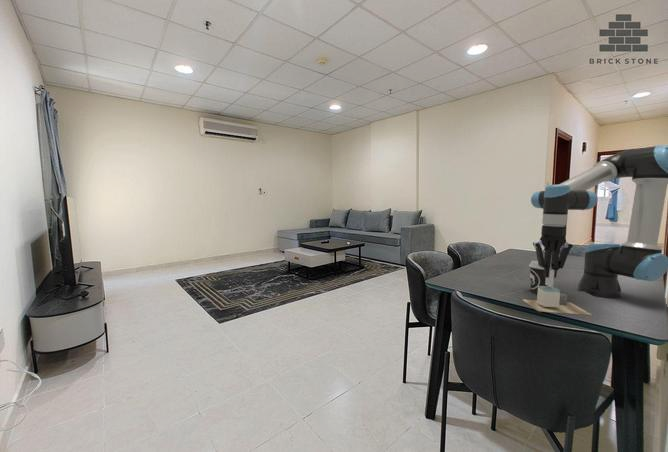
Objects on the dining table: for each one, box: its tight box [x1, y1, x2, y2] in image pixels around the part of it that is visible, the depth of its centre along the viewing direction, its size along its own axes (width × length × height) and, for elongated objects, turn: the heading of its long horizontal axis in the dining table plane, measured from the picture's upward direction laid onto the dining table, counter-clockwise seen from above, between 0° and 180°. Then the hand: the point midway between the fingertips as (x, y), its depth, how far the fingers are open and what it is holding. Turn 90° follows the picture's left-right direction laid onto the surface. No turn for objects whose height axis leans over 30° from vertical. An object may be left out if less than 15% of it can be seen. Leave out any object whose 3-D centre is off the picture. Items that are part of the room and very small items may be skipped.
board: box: [521, 298, 593, 316], centre depth 114 cm, size 18×13×1 cm
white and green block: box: [536, 286, 561, 307], centre depth 113 cm, size 5×5×7 cm
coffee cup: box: [528, 260, 551, 295], centre depth 131 cm, size 10×10×15 cm
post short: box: [559, 292, 568, 305], centre depth 117 cm, size 3×3×4 cm
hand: (549, 285), depth 113 cm, fingers closed
